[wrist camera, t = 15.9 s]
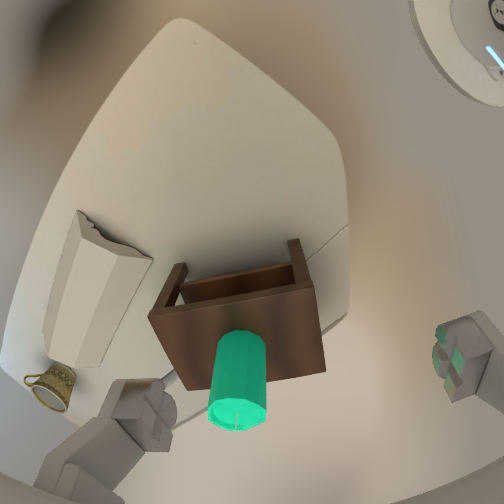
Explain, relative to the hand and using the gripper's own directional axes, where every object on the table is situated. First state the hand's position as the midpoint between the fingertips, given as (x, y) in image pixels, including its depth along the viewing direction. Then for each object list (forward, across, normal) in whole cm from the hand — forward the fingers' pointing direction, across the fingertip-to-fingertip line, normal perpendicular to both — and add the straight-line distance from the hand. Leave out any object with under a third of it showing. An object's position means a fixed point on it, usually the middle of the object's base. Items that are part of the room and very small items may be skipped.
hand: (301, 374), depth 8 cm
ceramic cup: (+37, +59, +33) cm, 77 cm away
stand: (+37, +8, +19) cm, 42 cm away
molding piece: (+37, +38, +16) cm, 55 cm away
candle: (+23, +8, +19) cm, 31 cm away
